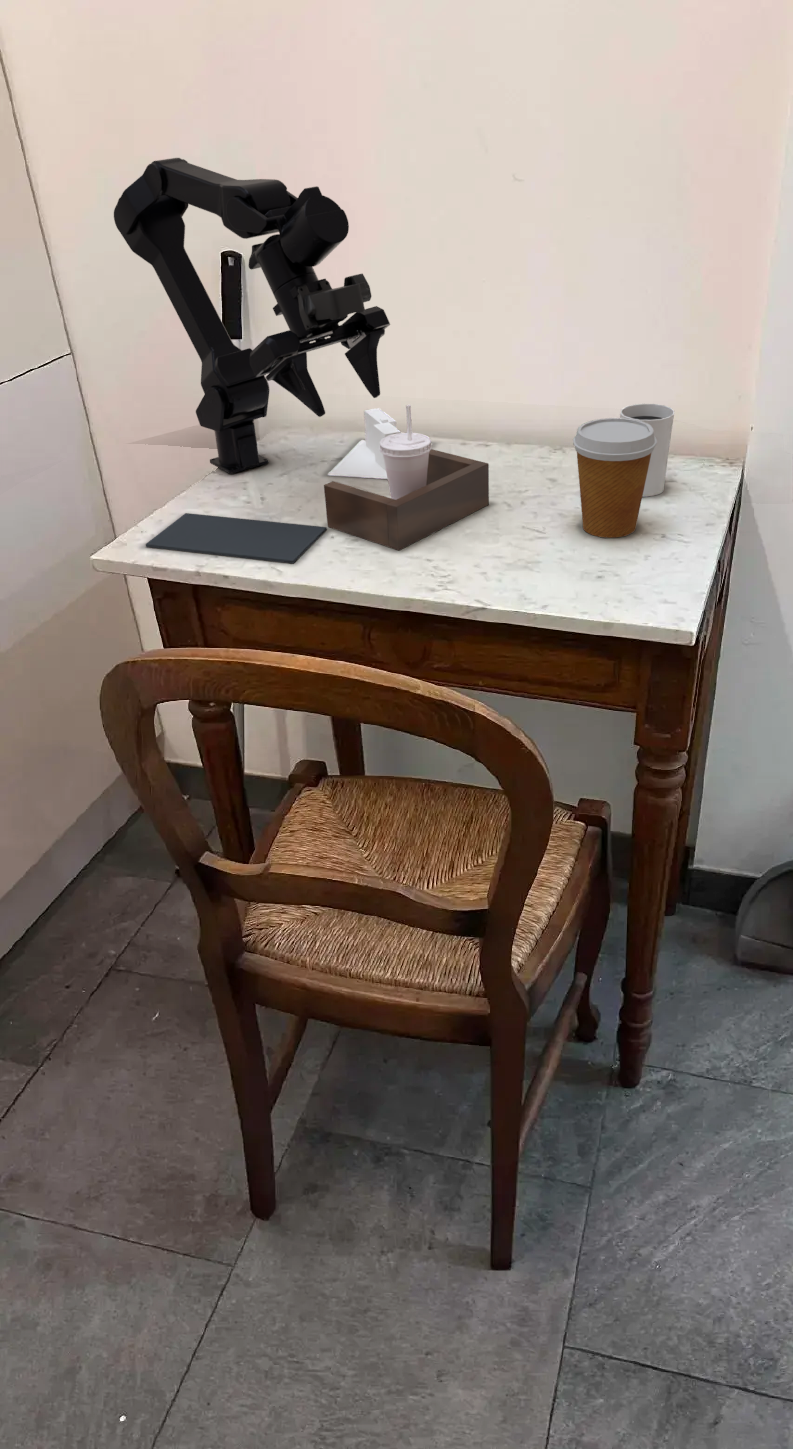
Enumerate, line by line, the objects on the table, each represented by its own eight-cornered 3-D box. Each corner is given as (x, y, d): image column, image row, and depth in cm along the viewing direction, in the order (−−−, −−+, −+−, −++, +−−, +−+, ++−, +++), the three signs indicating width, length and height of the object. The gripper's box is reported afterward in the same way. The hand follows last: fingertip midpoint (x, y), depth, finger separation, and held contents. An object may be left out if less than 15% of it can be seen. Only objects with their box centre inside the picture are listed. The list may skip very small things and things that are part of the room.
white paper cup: (646, 502, 134) (652, 424, 129) (604, 489, 138) (609, 413, 133) (678, 487, 138) (685, 410, 132) (636, 475, 142) (642, 400, 136)
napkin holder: (360, 439, 160) (357, 401, 157) (433, 443, 157) (431, 404, 154) (326, 475, 148) (322, 435, 145) (404, 480, 145) (402, 439, 142)
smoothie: (429, 526, 131) (425, 414, 124) (378, 524, 133) (371, 413, 125) (438, 506, 137) (434, 397, 129) (389, 505, 138) (383, 397, 130)
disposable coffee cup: (631, 549, 123) (639, 448, 116) (556, 535, 127) (559, 437, 121) (661, 519, 129) (670, 422, 123) (588, 507, 134) (593, 412, 127)
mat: (145, 547, 131) (145, 544, 131) (186, 515, 138) (185, 513, 138) (293, 563, 124) (293, 560, 124) (326, 530, 132) (326, 527, 132)
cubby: (327, 526, 133) (323, 484, 130) (418, 484, 143) (416, 445, 140) (399, 550, 126) (396, 507, 123) (489, 504, 136) (488, 463, 133)
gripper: (266, 266, 117) (327, 399, 119) (387, 239, 128) (441, 361, 130) (222, 313, 126) (280, 435, 128) (338, 283, 137) (390, 397, 139)
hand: (350, 406), depth 131 cm, fingers open, 9 cm apart
